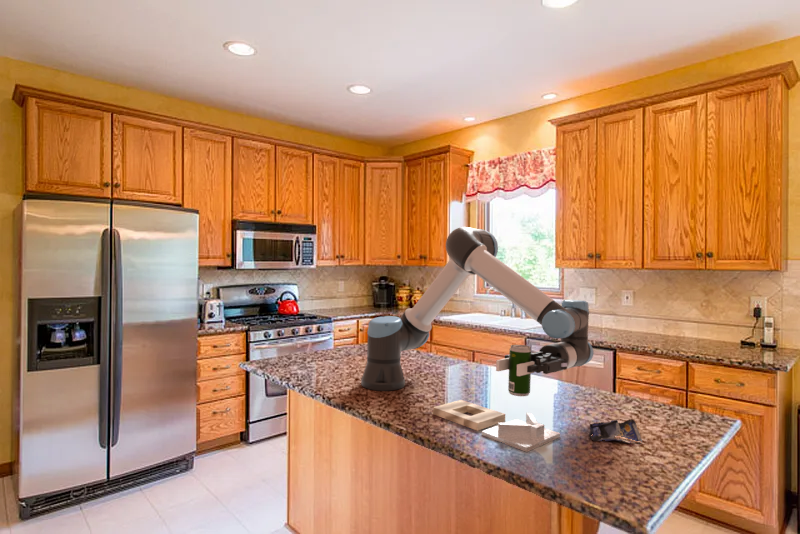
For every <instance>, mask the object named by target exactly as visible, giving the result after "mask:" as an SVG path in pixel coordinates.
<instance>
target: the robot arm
mask: <svg viewBox="0 0 800 534" xmlns="http://www.w3.org/2000/svg"><path fill="white" fill-rule="evenodd" d="M445 250H446V254H447V255H448V257H449V260H448V261H447V263H446V264H445V266H444V267H443V268H442V270H440V272H438V275H436V277H435V279H434V280H433V281H432V282H431V284H430V285H429V286H428V287H427V288H426V290H425V291H424V293H423V294H422V295H421V297H420V298H419V299H418V300H417V302H416V303H415V305H413V307H412V308H409V307H408V308H406V309H405V311H404V312H403V313H402V314H401V316H400V317H399V316H395V315H393V316H392V315H384V316H378V317H374V318H372V319H370V320H369V321H368V327H367V333H366V334H367V345H366V346H367V350H366V351H367V354H366V355H367V356H366V365H365V367H364V371H363V374H362V376H361V380H360V383H361V384H360V385H361V387H363V388H365V389H368V390H372V391H379V392H380V391H396V390H401V389H403V388H405V386H406V379H405V377H404V372H403V369H402V364H401V356H402V355H401V354H402V352H405V351H410V350H416V349H419V348H420V347H422V346H424V345H425V344H426V343H427V342H428V340H429V338H430V331H431V330H432V328H433V326H432V322H433V321H434V320H435V318H436V317H437V316H438V315H439V314H440V312H441V311H442V310H443V309H444V307H446V305H447V304H448V302H449V301H450V300H451V299H452V297H453V296H455V293H456V292H457V291H458V290H459V289H460V288H461V286H462V285H463V284H464V283H465V282H466V280H467V279H468V278H469V277H470V276H477V277H479V278H480V279H481V280H483V281H484V282H486V283H487V284H488V285H489V286H490V287H491V288H493V289H495V290H496V291H497V292H498V293H500V295H502V296H504V297H505V298H506V299H507V300H508V301H510V302H511V303H512V304H513V305H515V306H516V307H517V308H519V309H520V310H521V311H522V312H524V313H525V314H527V316H529V317H530V318H531V319H533V320H534V321H535V322H537V323H538V324H539V325H541V328H542V330H543V332H544V333H545V334H546V335H547V336H548V337H550V338H552V339H560V342H555V343H551V344H546V345H543V346H542V347H541V348H540V349H539V350H538V351H535V352H531V362H526V363H522V364H517V376H523V375H527V374H533V373H536V374H540V373H541V372H542V374H544V375H549V374H551V373H552V374H553V373H556V372H563V371H566V370H568V369H570V368H576V367H582V366H583V365H586V364H589V362H591V361H592V360H593V357H594V353H595V352H594V351H595V350H594V348H593V346H592V344H591V343H590V341H589V316H590V309H589V306H590V305H589V302H587V301H586V300H581V299H562V301H561V304H560V303H558V302H557V301H555V300H554V299H553V298H551V297H550V296H549V295H548V294H546V293H545V292H543V291H542V290H540V289H539V288H538V287H537V286H535V285H534V284H533V283H531V282H530V281H528V280H527V279H525V278H524V277H523V276H521V275H520V274H519V273H518V272H516V271H515V270H514V269H512V268H511V267H509V266H508V265H506V263H504V262H502V261H501V260H499V259H498V258H497V255H498V251H499V246H498V240H497V239H496V237H495V236H494V235H493V234H492V233H491V232H490V231H487V230H485V229H481V228H478V229H477V228H475V227H474V228H473V227H468V226H467V227H466V226H461V227H457V228H455V229H453V230H452V231H451V232H450V233H449V234H448V235H447V238H446V241H445ZM495 362H496V364H495V365H496V366H495V368H496V369H495V371H496V372H502V371H508V370H509V354H504V358H500V359H496V361H495Z"/></svg>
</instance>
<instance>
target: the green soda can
mask: <svg viewBox="0 0 800 534" xmlns="http://www.w3.org/2000/svg"><path fill="white" fill-rule="evenodd" d="M531 353H532V350H531V346H530V345H525V344H511V345H510V347H509V354H508V355H509V369H508V382H507V384H508V393H509V394H510V395H512V396H515V397H516V396H517V397H528V396H529V395H530V394H531V376H532V375H531V374H532V373H531V374H527V375H523V376H517V364H522V363H526V362H531Z"/></svg>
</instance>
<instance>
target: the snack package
mask: <svg viewBox="0 0 800 534" xmlns="http://www.w3.org/2000/svg"><path fill="white" fill-rule="evenodd" d="M618 420H619V418H618V419H614V420H613V419H612V420H610V421H606V422H605V421H604V422H603V421H601V422H593V423H590V424H589V434H588V435H589V437H590V439H591V441H592V440H593V441H592V442H603V441H602V440H605V441H604V442H609V441H610V442H611V441H617V442H621V441H624V442H623V443H626V442H627V441H626V440H623V439H619V438H614V437H615V436H621V437H625V438H628V439H632V440H635V441H641V443H642V442H643V439H642V437H641V436H642V435H641V433H640V431H639V428H638V425H637V423H636V421H635V419H628V420H625V421H624V422H623V421H622V422H619V421H618ZM592 434H593V436H591V435H592ZM626 444H629V441H628V442H627V443H626Z"/></svg>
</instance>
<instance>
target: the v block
mask: <svg viewBox="0 0 800 534" xmlns="http://www.w3.org/2000/svg"><path fill="white" fill-rule="evenodd" d="M545 426H546V425H545V424H542V423H540V422H538V421H537V419H536V418H535V416H534V415H533V414H532V412H526V415H525V421H523V420H520V419H517V418H515V419H513V420H512V419H511V420H510V421H509V420H508V421H505V422H501V423H498V424H497V425H494V426H493V427H492V426H491V427H488V428H487V429H486V428H485V429H484V430H481V436H484V437H485V438H489V439H491V440H494V441H496V442H499V443H501V442H502V443H501V444H504V443H505V444H504V445H506V446H510V447H512V448H515V449H518V450H520V451H523V452H525V453H528V452H530V451H533V450H534V449H537V448H539V447H541V446H543V444H544V445H545V444H548V443H550V442H552V441H555V440H557V439H559V438H561V433H560V432H558V431H555V430H551V429H548V428H545Z"/></svg>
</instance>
